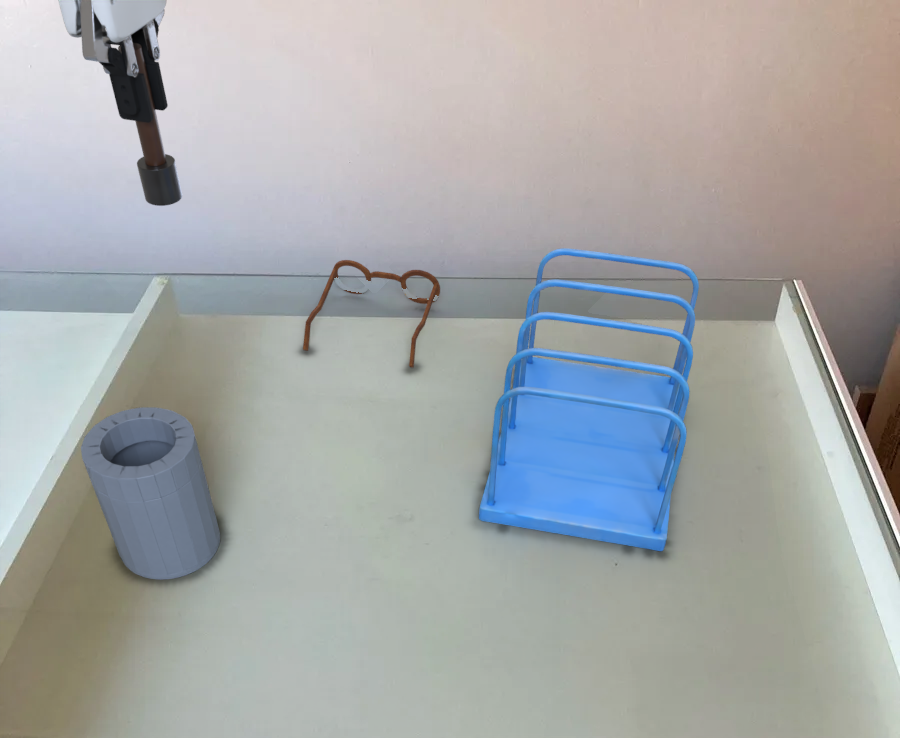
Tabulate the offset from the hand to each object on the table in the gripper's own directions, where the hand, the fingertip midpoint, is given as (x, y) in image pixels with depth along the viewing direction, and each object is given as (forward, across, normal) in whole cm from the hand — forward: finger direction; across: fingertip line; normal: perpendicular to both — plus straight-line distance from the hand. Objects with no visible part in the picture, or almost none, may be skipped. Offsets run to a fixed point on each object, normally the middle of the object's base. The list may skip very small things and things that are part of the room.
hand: (144, 112), depth 84 cm
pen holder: (+25, +29, +11) cm, 40 cm away
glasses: (+25, -9, +18) cm, 32 cm away
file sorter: (+25, +6, +46) cm, 53 cm away
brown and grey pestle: (+8, 0, 0) cm, 8 cm away
